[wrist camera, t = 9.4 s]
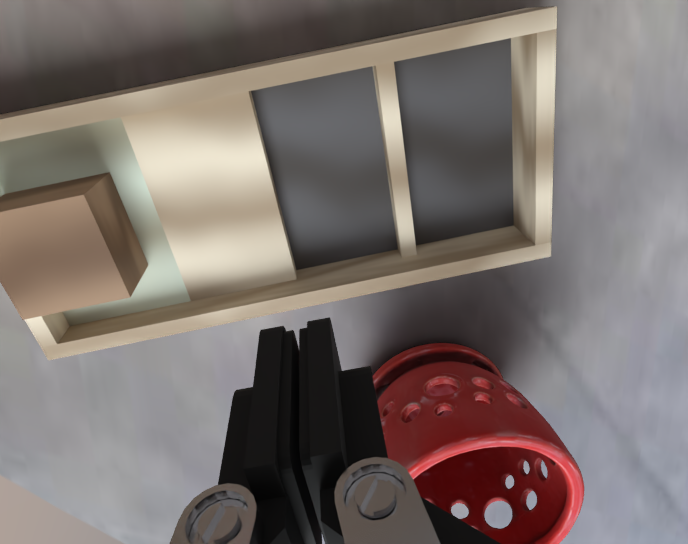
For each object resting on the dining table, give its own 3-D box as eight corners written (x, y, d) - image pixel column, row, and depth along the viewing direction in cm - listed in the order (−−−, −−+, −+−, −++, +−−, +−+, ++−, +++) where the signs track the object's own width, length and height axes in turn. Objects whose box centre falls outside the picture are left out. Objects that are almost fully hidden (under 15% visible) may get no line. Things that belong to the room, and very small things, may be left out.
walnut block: (4, 193, 28) (-37, 219, 24) (109, 172, 28) (83, 194, 24) (53, 284, 30) (22, 320, 27) (148, 265, 30) (130, 297, 27)
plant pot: (516, 425, 42) (592, 560, 32) (368, 464, 43) (395, 611, 32) (500, 300, 36) (588, 417, 26) (329, 347, 37) (346, 481, 26)
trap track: (-41, 122, 27) (-83, 136, 24) (526, 7, 27) (556, 6, 24) (70, 328, 34) (48, 360, 31) (526, 234, 34) (550, 256, 31)
